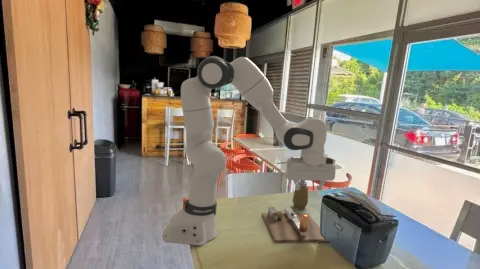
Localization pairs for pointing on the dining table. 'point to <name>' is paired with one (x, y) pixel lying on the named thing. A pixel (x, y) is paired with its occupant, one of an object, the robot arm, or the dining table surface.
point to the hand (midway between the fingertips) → (308, 189)
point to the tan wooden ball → (280, 214)
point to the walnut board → (290, 228)
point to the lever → (297, 221)
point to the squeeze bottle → (301, 195)
